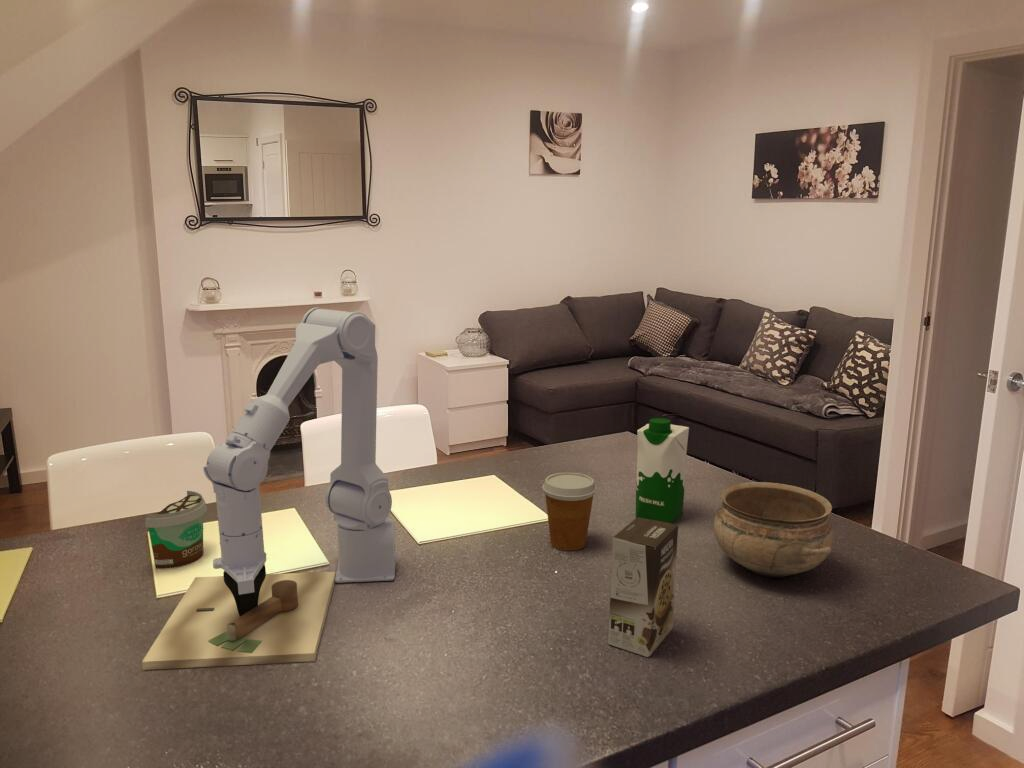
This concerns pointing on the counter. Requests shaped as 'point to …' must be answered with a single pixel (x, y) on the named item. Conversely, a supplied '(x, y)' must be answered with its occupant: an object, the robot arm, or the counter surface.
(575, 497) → the disposable coffee cup
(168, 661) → the dial board
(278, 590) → the tuning peg
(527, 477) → the counter surface
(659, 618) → the coffee box
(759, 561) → the cooking pot
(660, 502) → the milk carton
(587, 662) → the counter surface
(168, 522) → the food container
